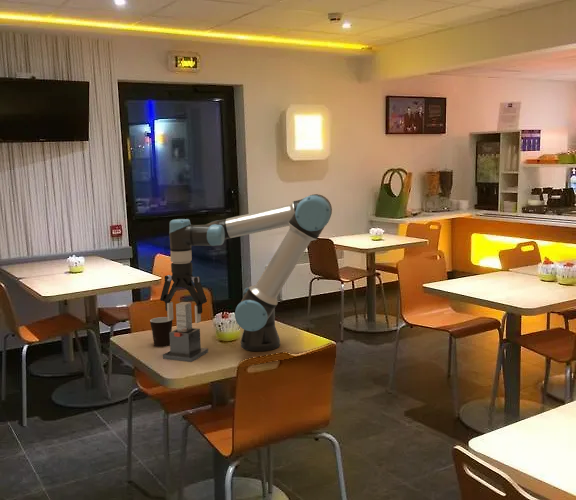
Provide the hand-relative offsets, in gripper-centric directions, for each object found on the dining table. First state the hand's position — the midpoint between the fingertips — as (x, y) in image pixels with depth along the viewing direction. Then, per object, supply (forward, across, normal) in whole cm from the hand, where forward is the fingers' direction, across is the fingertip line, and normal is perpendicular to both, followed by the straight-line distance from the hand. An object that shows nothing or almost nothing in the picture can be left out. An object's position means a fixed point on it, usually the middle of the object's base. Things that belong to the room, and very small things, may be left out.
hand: (184, 321), depth 227 cm
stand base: (+13, 0, 0) cm, 13 cm away
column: (+11, 0, 0) cm, 11 cm away
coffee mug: (+13, +17, -11) cm, 24 cm away
